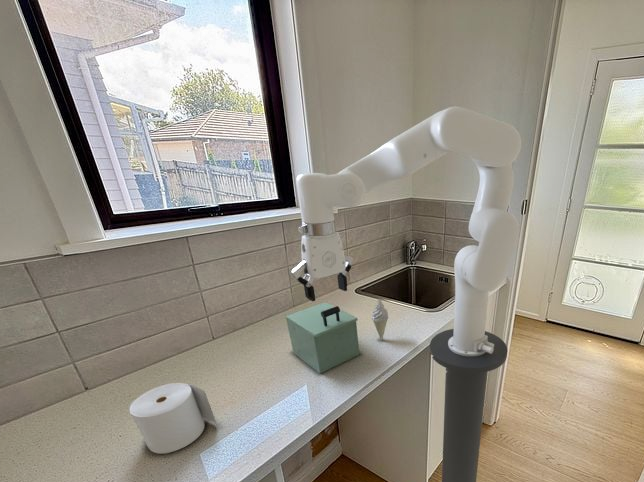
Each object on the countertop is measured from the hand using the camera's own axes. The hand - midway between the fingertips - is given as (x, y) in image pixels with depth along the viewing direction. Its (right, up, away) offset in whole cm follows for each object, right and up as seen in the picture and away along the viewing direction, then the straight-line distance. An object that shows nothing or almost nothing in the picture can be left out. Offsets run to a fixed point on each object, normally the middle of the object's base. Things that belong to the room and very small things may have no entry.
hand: (327, 294), depth 88 cm
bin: (-4, -17, +13) cm, 22 cm away
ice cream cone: (+12, -13, +20) cm, 27 cm away
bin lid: (-4, -7, +8) cm, 11 cm away
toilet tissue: (-29, -32, -15) cm, 45 cm away
